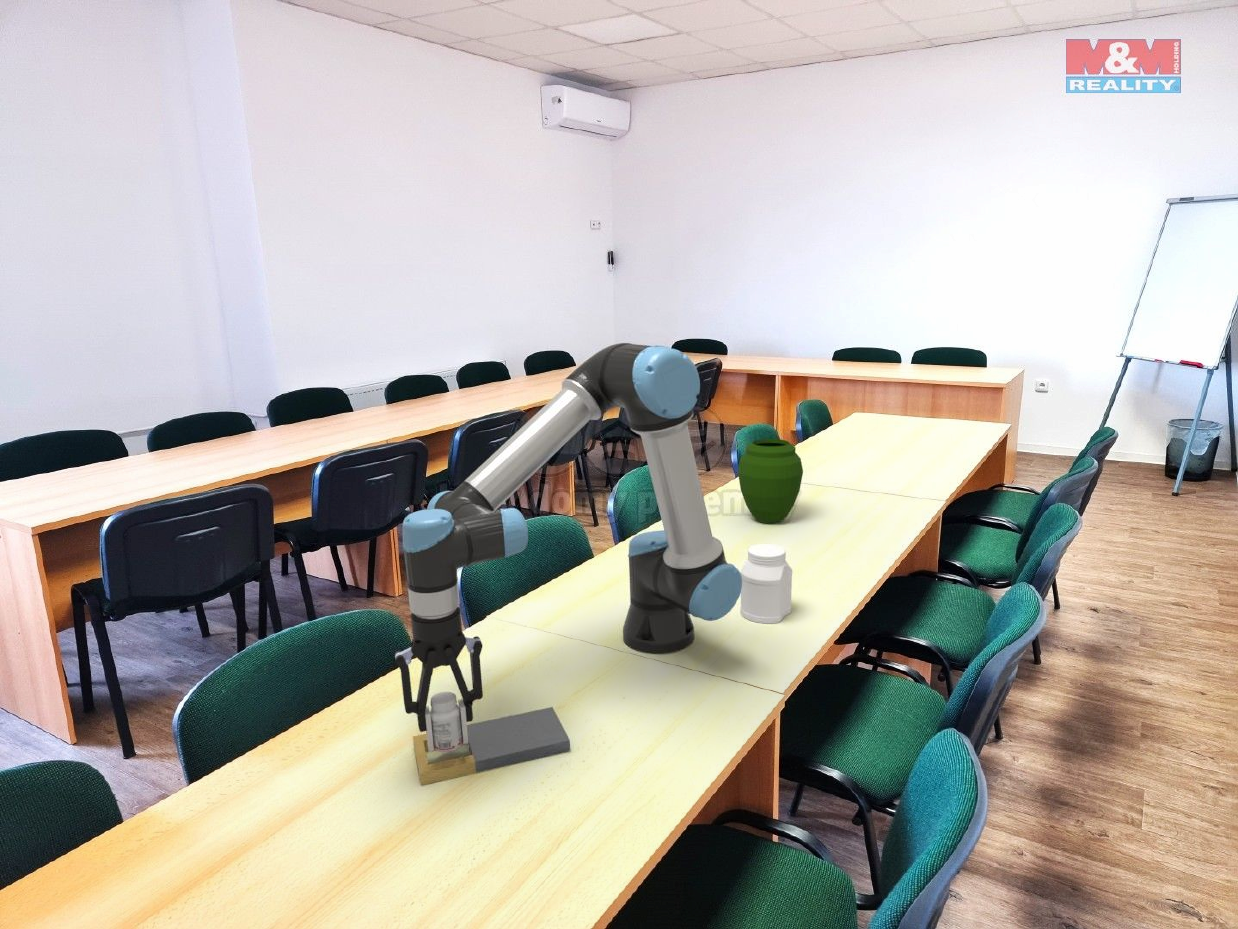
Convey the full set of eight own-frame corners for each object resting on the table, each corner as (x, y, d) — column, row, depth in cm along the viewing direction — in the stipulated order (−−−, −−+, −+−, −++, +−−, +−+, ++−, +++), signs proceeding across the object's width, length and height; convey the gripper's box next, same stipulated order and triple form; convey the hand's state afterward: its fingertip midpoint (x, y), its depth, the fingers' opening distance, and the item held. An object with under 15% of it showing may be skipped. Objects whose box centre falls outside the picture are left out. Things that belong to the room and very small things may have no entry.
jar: (774, 627, 173) (775, 562, 169) (734, 617, 178) (735, 554, 175) (795, 608, 182) (797, 546, 178) (757, 599, 187) (758, 539, 184)
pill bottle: (450, 732, 132) (445, 687, 130) (468, 742, 129) (464, 695, 127) (426, 746, 129) (421, 699, 127) (445, 756, 126) (441, 708, 124)
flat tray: (552, 717, 141) (552, 706, 140) (570, 751, 131) (569, 740, 130) (413, 747, 133) (412, 736, 132) (420, 785, 123) (419, 774, 122)
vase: (765, 506, 259) (766, 433, 253) (815, 519, 244) (817, 442, 238) (724, 519, 247) (724, 443, 241) (773, 534, 232) (775, 453, 226)
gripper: (487, 591, 130) (497, 719, 135) (374, 609, 124) (389, 742, 129) (496, 609, 123) (506, 743, 128) (376, 629, 117) (392, 768, 123)
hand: (447, 742), depth 129 cm, fingers closed on pill bottle, 5 cm apart
